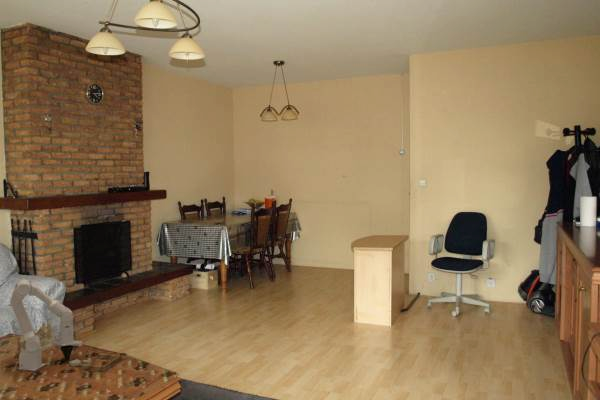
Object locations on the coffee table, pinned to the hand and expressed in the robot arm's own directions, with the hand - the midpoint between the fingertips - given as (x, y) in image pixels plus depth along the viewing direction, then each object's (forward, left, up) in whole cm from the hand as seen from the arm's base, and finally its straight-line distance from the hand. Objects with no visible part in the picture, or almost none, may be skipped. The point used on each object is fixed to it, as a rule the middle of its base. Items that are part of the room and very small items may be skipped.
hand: (67, 359), depth 242 cm
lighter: (+5, 0, 0) cm, 5 cm away
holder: (+19, 0, -1) cm, 19 cm away
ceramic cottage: (-31, +15, -2) cm, 34 cm away
